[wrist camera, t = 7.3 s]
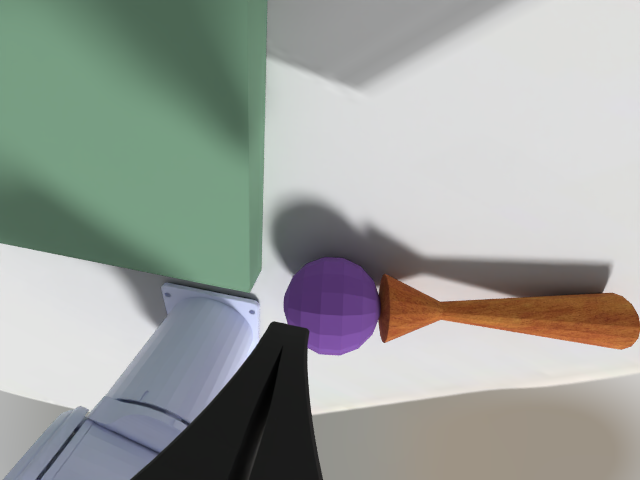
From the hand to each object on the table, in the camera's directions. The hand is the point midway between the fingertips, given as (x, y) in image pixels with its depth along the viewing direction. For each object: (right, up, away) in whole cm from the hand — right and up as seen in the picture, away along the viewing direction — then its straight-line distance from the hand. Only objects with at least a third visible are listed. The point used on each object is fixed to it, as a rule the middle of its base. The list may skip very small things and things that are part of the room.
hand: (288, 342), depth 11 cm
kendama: (+9, +1, +10) cm, 14 cm away
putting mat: (-14, +10, +7) cm, 19 cm away
